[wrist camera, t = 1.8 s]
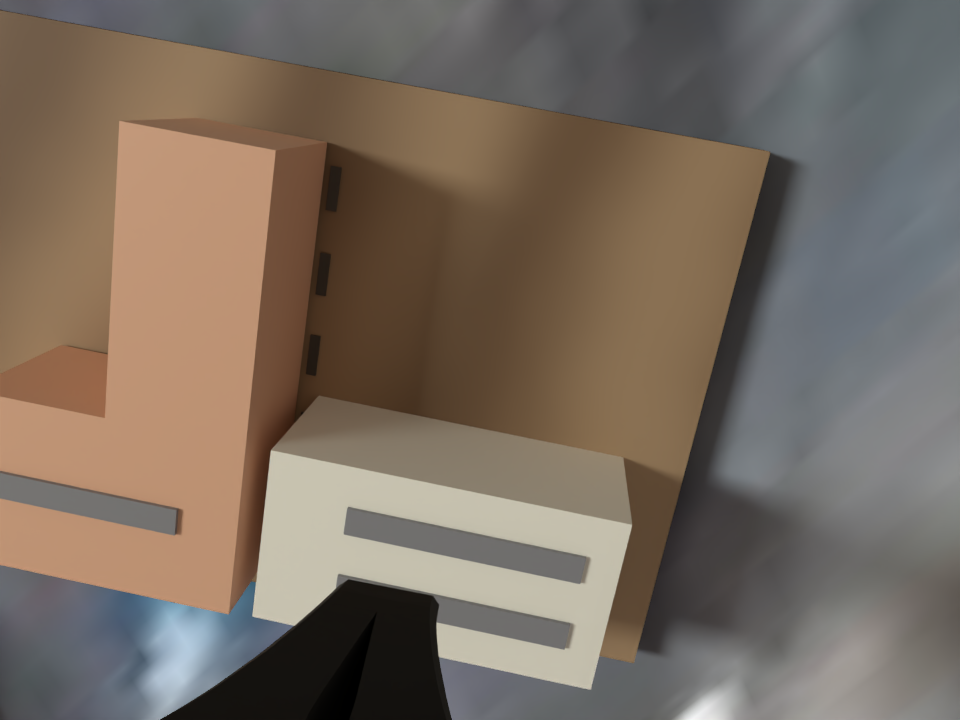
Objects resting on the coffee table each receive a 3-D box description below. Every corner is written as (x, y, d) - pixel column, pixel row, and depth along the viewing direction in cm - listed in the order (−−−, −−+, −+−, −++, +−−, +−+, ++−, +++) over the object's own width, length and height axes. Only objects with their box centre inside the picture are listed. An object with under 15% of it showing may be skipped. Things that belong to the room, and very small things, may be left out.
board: (762, 150, 19) (770, 152, 19) (631, 644, 23) (633, 664, 22) (-173, -22, 20) (-205, -28, 20) (-150, 477, 24) (-176, 490, 23)
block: (327, 142, 19) (273, 151, 16) (280, 538, 22) (227, 616, 19) (69, 93, 20) (-38, 92, 16) (56, 490, 23) (-36, 559, 19)
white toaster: (622, 457, 21) (632, 527, 17) (588, 601, 22) (590, 692, 19) (318, 395, 21) (269, 452, 18) (300, 539, 22) (250, 619, 19)
